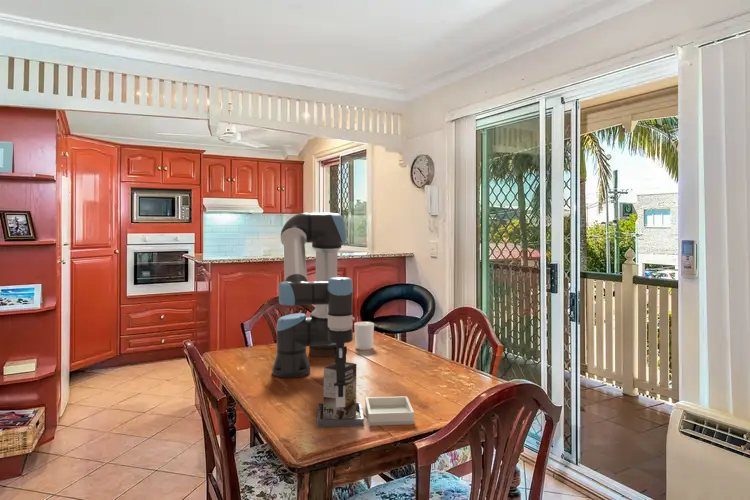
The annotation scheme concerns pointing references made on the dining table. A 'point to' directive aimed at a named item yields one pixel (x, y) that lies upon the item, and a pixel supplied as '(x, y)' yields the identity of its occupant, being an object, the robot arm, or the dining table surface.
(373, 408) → the tray
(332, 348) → the wooden container
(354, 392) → the coffee box
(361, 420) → the socket collar
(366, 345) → the candle holder
